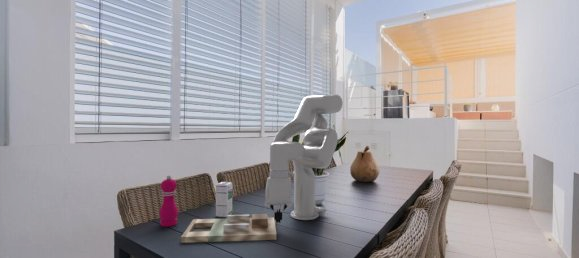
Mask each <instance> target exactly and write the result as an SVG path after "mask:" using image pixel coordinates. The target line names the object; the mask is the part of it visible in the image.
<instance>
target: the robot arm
mask: <svg viewBox="0 0 579 258" xmlns="http://www.w3.org/2000/svg"><path fill="white" fill-rule="evenodd" d="M343 103H344V102H343V99H342V97H341V96H340V95H339V94H326V95H325V94H319V95H318V94H317V95H308V96H305V97H304V98H303V99H302V100H301V101H300V104H299V106H298V108H297V110H296V113H295V115H294V118H293V119H291V121H289V122H288V123H286V124H285V125H284V126H283V127H282V128H280V129H279V130H278V132H276V135H275V136H274V138H273V141H272V143H271V144H270V146H269V177H267V179H266V183H265V184H266V185H265V198H264V199H265V202H264V207H267V208H270V209H271V210H272V211H273V212H274V215H273V217H274V220H275V224H278V223H279V224H281V221H283V212H284V211H285V210H286V209H287V208H291V207H293V210H292V211H291V212H290V216H291V218H293V219H296V220H300V221H310V220H311V221H312V220H316V219H317V218H319V213H326V211H327V208H326V207H323V206H317V205H316V180H317V179H316V175H315V172H314V170H313V169H319V170H321V169H327V168H328V167H329V166H330V164H331V162H332V160H333V157H334V153H335V151H336V149H337V145H338V140H339V139H338V133H337V131H336V130H335V129H333V128H330V127H328V121H327V119H326V117H324V115H329V114H335V113H339V112H340V111H341V110H342V108H343ZM301 134H304V135H303V139H302V142H303V143H301V142H298V141H290V139H292V138H294V137H295V136H298V135H301ZM290 161H292V163H293V171H291V170H290ZM293 174H294V175H293ZM291 176H294V178H293V180H294V181H293V183H294V186H293V188H294V190H293V188H292V179H291ZM293 193H294V194H293ZM292 194H293V195H292ZM277 205H279V209H278V207H277Z"/></svg>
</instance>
